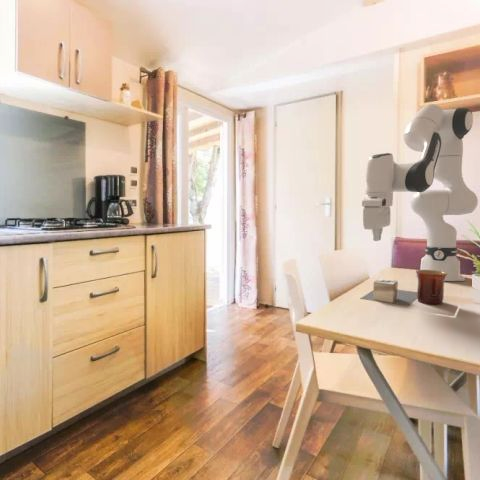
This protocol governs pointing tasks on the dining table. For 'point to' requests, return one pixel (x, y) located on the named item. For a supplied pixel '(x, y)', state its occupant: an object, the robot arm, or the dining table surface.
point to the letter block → (385, 290)
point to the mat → (402, 297)
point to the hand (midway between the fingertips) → (377, 240)
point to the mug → (430, 286)
